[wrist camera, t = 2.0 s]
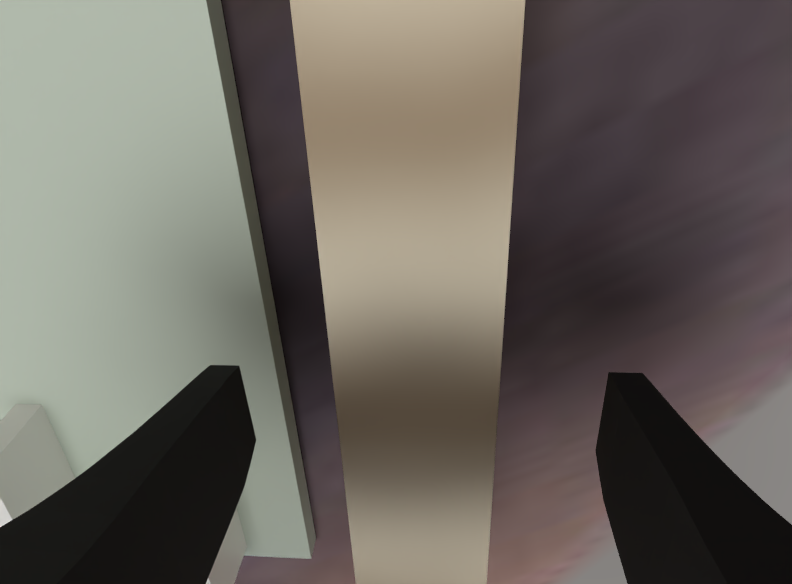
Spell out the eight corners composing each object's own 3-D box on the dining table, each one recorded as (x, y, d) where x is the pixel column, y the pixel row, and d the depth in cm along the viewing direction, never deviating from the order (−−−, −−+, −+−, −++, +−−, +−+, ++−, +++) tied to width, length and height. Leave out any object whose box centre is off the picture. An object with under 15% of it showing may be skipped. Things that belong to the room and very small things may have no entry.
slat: (476, 506, 20) (481, 666, 16) (384, 502, 20) (363, 658, 16) (503, -63, 12) (528, -48, 8) (346, -57, 12) (285, -40, 8)
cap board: (315, 538, 21) (311, 558, 21) (41, 525, 22) (27, 545, 22) (121, -565, 9) (91, -606, 8) (-487, -482, 10) (-557, -510, 9)
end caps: (246, 546, 21) (210, 654, 18) (80, 538, 21) (18, 641, 18) (-37, -505, 9) (-294, -719, 6) (-398, -457, 9) (-802, -628, 6)
